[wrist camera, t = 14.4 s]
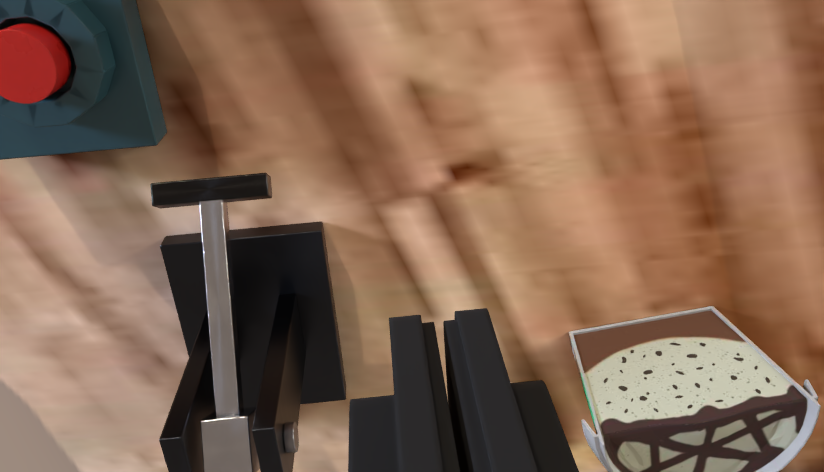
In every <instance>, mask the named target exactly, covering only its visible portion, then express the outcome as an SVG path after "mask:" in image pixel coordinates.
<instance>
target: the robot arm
mask: <svg viewBox="0 0 824 472" xmlns="http://www.w3.org/2000/svg"><path fill="white" fill-rule="evenodd" d="M389 325H390V339H391V353H392V367H393V382H394V395H390V396H380V397H370V398H360V399H351V400H350V411H349V464H348V472H579V471H578V468H577V466H576V463H575V460H574V458H573V455H572V452H571V450H570V447H569V445H568V442H567V439H566V437H565V434H564V431H563V429H562V426H561V424H560V421H559V418H558V416H557V413H556V410H555V408H554V405H553V403H552V400H551V397H550V395H549V392H548V389H547V387H546V385H545V383H544V382H543V381H542V380H538V381H528V382H518V383H510V380H509V377H508V374H507V370H506V367H505V364H504V361H503V357H502V354H501V351H500V348H499V344H498V341H497V338H496V335H495V332H494V328H493V325H492V322H491V319H490V315H489V312H488V310H487V309H486V308H485V309H474V310H464V311H455V320H449V321H444V342H445V359H446V375H447V391H448V400H447V394H446V389H445V383H444V377H443V371H442V366H441V360H440V354H439V348H438V343H437V337H436V331H435V326H434V322H428V323H422V321H421V315H413V316H403V317H393V318H389Z"/></svg>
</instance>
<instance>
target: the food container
mask: <svg viewBox="0 0 824 472" xmlns="http://www.w3.org/2000/svg"><path fill="white" fill-rule="evenodd" d="M569 337H570V342H571V347H572V350H573V354H574V357H575V361H576V364H577V368H578V371H579V374H580V378H581V381H582V385H583V388H584V392H585V395H586V399H587V402H588V406H589V409H590V413H591V416H592V419H593V423H594V426H595V430H596V433H597V434H595V433H594V432H593V430H592V429H591V428H590V426H589V425H588V424H587V423H586V421H585V420H584V419H583V420H581V422H582V427H583V432H584V435H585V437H586V440H587V442H588V444H589V446H590V448H591V449H592V451H593V452H594V453H595V455H596V456H597V458H598V459H599V460H600V462H601V463H602V464H603V466H604V467H605V468H606V469H607V471H608V472H779V471H780V470H782V469H783V468H784V467H785V466H786V465H787V464H788V463H789V462H790V461H791V460H792V459H793V458H794V457H795V456H796V455H797V454H798V453H799V451H800V450H801V449H802V448H803V446H804V445H805V444H806V442H807V440H808V439H809V437H810V435H811V434H812V432H813V429H814V427H815V424H816V422H817V420H818V416H819V411H820V407H821V406H820V405H819V404H818V402H817V401H818V396H817V394H816V392H815V391H814V389H813V387H812V386H811V384H810V382H809V380H805V381H804V386H803V388H802V387H801V386H800V385H799V384H798V383H797V382H796V381H794V380H793V379H792V378H791V377H790V376H789V375H788V374H787V373H786V372H785V371H784V370H782V369H781V368H780V367H779V366H778V365H777V364H776V363H775V362H774V361H773V360H771V359H770V358H769V357H768V356H767V355H766V354H765V353H764V352H763V351H762V350H761V349H759V348H758V347H757V346H756V345H755V344H754V343H753V342H752V341H751V340H750V339H749V338H747V337H746V336H745V335H744V334H743V333H742V332H741V331H740V330H739V329H738V328H736V327H735V326H734V325H733V324H732V323H731V322H730V321H729V320H728V319H727V318H726V317H724V316H723V315H722V314H721V313H720V312H719V311H718V310H717V309H716V308H715V307H713V306H710V307H704V308H698V309H693V310H687V311H682V312H676V313H671V314H665V315H660V316H654V317H649V318H643V319H638V320H632V321H626V322H621V323H615V324H610V325H604V326H599V327H593V328H588V329H582V330H577V331H571V332H569Z"/></svg>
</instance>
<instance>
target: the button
mask: <svg viewBox="0 0 824 472" xmlns="http://www.w3.org/2000/svg"><path fill="white" fill-rule="evenodd" d="M70 73H71V59H70V55H69V52H68V50H67V48H66V46H65V45H64V43H63V42H62V41H61V40H60V38H59V37H58V36H57V35H55V34H54V33H53V32H52V31H50V30H48V29H47V28H45V27H43V26H40V25H37V24H33V23H20V24H16V25H13V26H10V27H8V28H5V29H2V30H0V96H2V97H4V98H6V99H8V100H10V101H13V102H17V103H22V104H31V103H36V102H39V101H41V100H43V99H45V98H47V97H48V96H50V95H51V94H53V93H54V92H56V91H57V90H59V89H60V88H62V87H63V86H64V85H65V83H66V82H67V80H68V79H69V76H70Z"/></svg>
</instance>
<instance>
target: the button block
mask: <svg viewBox="0 0 824 472" xmlns="http://www.w3.org/2000/svg"><path fill="white" fill-rule="evenodd" d="M20 23H33V24H37V25H40V26H43V27H45V28H47V29H48V30H50V31H52V32H53V33H54V34H55V35H57V36H58V37H59V38H60V40H61V41H62V42H63V43H64V45H65V46H66V48H67V50H68V52H69V55H70V59H71V73H70V76H69V79H68V80H67V82H66V83H65V85H64V86H63V87H62V88H60V89H59V90H57V91H56V92H54V93H53V94H51V95H50V96H48V97H47V98H45V99H43V100H41V101H39V102H36V103H31V104H22V103H17V102H13V101H10V100H8V99H6V98H4V97H2V96H0V160H1V159H12V158H23V157H34V156H45V155H56V154H67V153H78V152H89V151H101V150H112V149H123V148H134V147H145V146H156V145H157V144H158V143H159V142H160V140H161V139H162V138H163V137H164V135H165V134H166V133H167V129H166V125H165V121H164V117H163V113H162V108H161V104H160V100H159V96H158V92H157V87H156V83H155V79H154V75H153V70H152V66H151V62H150V58H149V54H148V49H147V45H146V41H145V37H144V33H143V28H142V24H141V20H140V16H139V12H138V7H137V3H136V0H0V30H2V29H5V28H8V27H10V26H13V25H16V24H20Z"/></svg>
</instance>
